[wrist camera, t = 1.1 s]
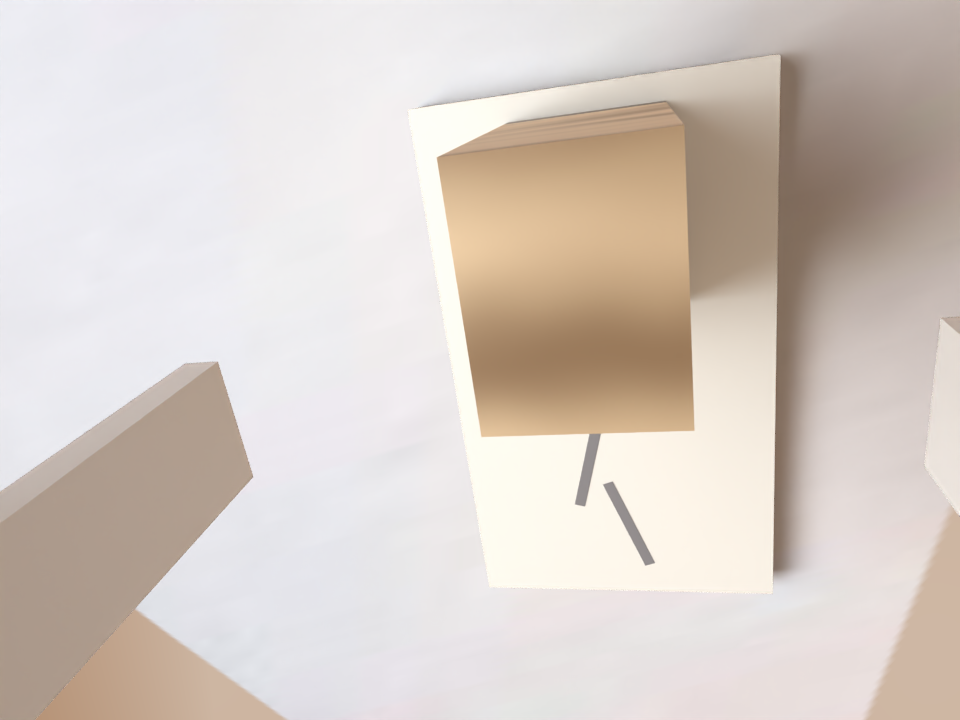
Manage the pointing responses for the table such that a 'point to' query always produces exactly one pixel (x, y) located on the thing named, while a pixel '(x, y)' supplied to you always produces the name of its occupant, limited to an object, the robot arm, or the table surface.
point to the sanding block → (575, 272)
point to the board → (715, 362)
